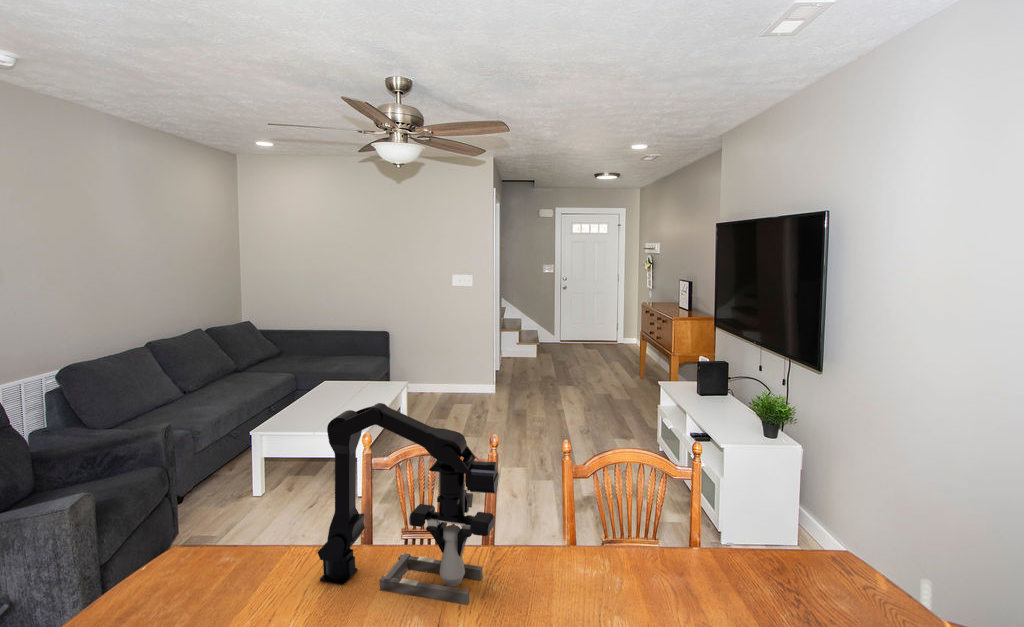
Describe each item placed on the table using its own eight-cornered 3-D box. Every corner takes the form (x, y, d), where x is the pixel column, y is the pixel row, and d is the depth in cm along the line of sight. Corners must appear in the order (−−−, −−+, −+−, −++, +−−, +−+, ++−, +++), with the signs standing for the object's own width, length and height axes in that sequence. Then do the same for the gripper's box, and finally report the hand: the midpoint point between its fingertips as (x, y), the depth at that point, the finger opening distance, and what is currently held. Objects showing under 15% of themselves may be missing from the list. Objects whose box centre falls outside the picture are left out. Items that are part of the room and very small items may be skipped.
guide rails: (379, 590, 130) (379, 577, 130) (401, 564, 141) (401, 552, 140) (466, 604, 125) (466, 592, 124) (482, 576, 135) (482, 564, 135)
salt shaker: (460, 590, 128) (460, 535, 126) (436, 587, 129) (435, 532, 127) (467, 575, 134) (467, 523, 132) (444, 572, 135) (444, 520, 133)
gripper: (501, 480, 134) (501, 542, 136) (427, 471, 139) (428, 532, 141) (487, 500, 123) (487, 568, 125) (407, 490, 128) (408, 555, 130)
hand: (452, 554), depth 130 cm, fingers closed on salt shaker, 3 cm apart
